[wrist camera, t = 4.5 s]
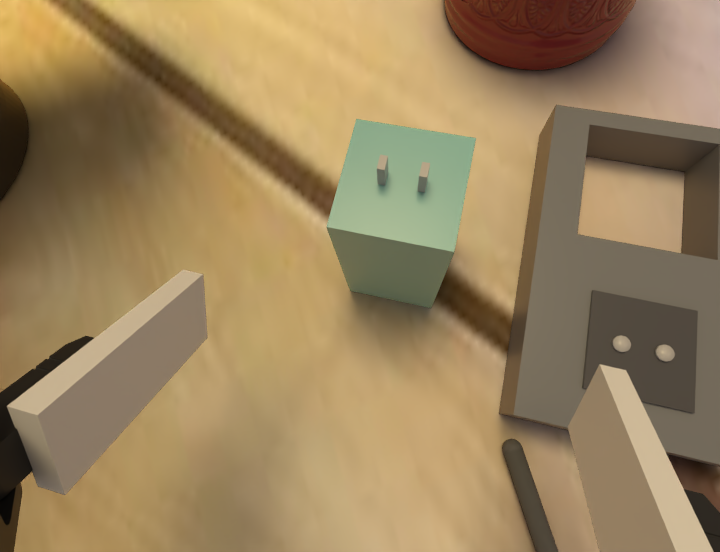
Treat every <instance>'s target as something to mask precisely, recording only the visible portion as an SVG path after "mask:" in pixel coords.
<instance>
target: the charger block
mask: <svg viewBox="0 0 720 552" xmlns="http://www.w3.org/2000/svg"><path fill="white" fill-rule="evenodd" d="M475 141H476V138H472V137H465V136H459V135H453V134H447V133H441V132H434V131H428V130H422V129H416V128H409V127H403V126H397V125H391V124H385V123H378V122H372V121H366V120H360V119H356V123H355V126H354V130H353V133H352V137H351V141H350V144H349V148H348V151H347V155H346V159H345V162H344V166H343V169H342V173H341V177H340V180H339V184H338V187H337V191H336V195H335V198H334V202H333V205H332V209H331V213H330V216H329V220H328V223H327V230H328V232H329V235H330V238H331V240H332V243H333V246H334V248H335V251H336V254H337V257H338V259H339V262H340V265H341V267H342V270H343V273H344V275H345V278H346V281H347V284H348V286H349V289H350V291H353V292H358V293H363V294H367V295H372V296H377V297H381V298H386V299H391V300H395V301H400V302H404V303H409V304H414V305H418V306H423V307H428V308H432V305H433V303H434V300H435V298H436V295H437V293H438V291H439V288H440V286H441V283H442V281H443V278H444V276H445V274H446V271H447V269H448V266H449V264H450V261H451V259H452V256H453V254H454V251H455V246H456V241H457V235H458V230H459V225H460V220H461V214H462V209H463V204H464V199H465V193H466V188H467V183H468V178H469V172H470V167H471V162H472V156H473V151H474V146H475Z"/></svg>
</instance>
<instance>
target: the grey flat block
mask: <svg viewBox="0 0 720 552" xmlns="http://www.w3.org/2000/svg"><path fill="white" fill-rule="evenodd" d="M586 156H591V157H597V158H603V159H609V160H616V161H622V162H628V163H634V164H641V165H647V166H653V167H659V168H665V169H672V170H678V171H684V172H685V186H684V210H683V234H682V254H681V253H676V252H671V251H665V250H660V249H654V248H649V247H643V246H638V245H632V244H627V243H622V242H616V241H611V240H605V239H600V238H594V237H589V236H584V235H578V234H577V233H578V224H579V215H580V206H581V197H582V188H583V179H584V170H585V161H586ZM599 364H601V365H605V366H610V367H614V368H618V369H623V370H626V371H627V373H628V375H629V377H630V379H631V381H632V384H633V386H634V388H635V390H636V392H637V394H638V396H639V398H640V400H641V402H642V404H643V406H644V408H645V411H646V413H647V415H648V417H649V419H650V421H651V423H652V425H653V427H654V429H655V431H656V433H657V435H658V437H659V440H660V442H661V444H662V446H663V448H664V450H665V452H666V454H668V455H672V456H677V457H681V458H685V459H689V460H693V461H697V462H701V463H705V464H710V465H714V466H719V467H720V129H717V128H711V127H704V126H697V125H690V124H683V123H676V122H670V121H663V120H656V119H649V118H642V117H636V116H629V115H622V114H615V113H608V112H601V111H595V110H588V109H581V108H574V107H567V106H560V105H556V106H555V108H554V110H553V111H552V113H551V115H550V117H549V119H548V121H547V122H546V124H545V126H544V128H543V130H542V132H541V133H540V136H539V143H538V149H537V156H536V163H535V170H534V177H533V184H532V191H531V197H530V204H529V211H528V218H527V225H526V232H525V239H524V246H523V252H522V259H521V266H520V273H519V280H518V287H517V294H516V300H515V307H514V314H513V321H512V328H511V335H510V342H509V349H508V355H507V362H506V369H505V376H504V383H503V390H502V397H501V403H500V410H499V414H503V415H508V416H512V417H516V418H520V419H524V420H528V421H532V422H536V423H541V424H545V425H549V426H553V427H557V428H561V429H565V430H568V425H569V423H570V421H571V420H572V418H573V416H574V414H575V412H576V410H577V408H578V406H579V404H580V402H581V400H582V398H583V396H584V394H585V392H586V390H587V388H588V386H589V384H590V382H591V380H592V378H593V376H594V374H595V372H596V370H597V368H598V366H599Z"/></svg>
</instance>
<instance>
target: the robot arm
mask: <svg viewBox="0 0 720 552" xmlns="http://www.w3.org/2000/svg"><path fill="white" fill-rule="evenodd" d="M27 139H28V123H27V117H26V113H25V110H24V107H23V105H22V103H21V101H20V99H19V98H18V96H17V95H16V93H15V92H14V91H13V90H12V89H11V88H10V87H9V86H8V85H7V84H5V83H4V82H3V81H2V80H1V79H0V199H1V198H2V197H3V195H4V194H5V193H6V191H7V190H8V188H9V187H10V185H11V184H12V182H13V180H14V179H15V177H16V175H17V173H18V171H19V169H20V166H21V164H22V161H23V158H24V155H25V151H26V146H27ZM206 339H207V324H206V309H205V294H204V279H203V274H200V273H196V272H192V271H187V270H182V271H180V272H179V273H178V274H177V275H175V276H174V277H173V278H171V279H170V280H169V281H167V282H166V283H165V284H164V285H162V286H161V287H160V288H158V289H157V290H156V291H155V292H153V293H152V294H151V295H149V296H148V297H147V298H146V299H144V300H143V301H142V302H140V303H139V304H138V305H137V306H135V307H134V308H133V309H131V310H130V311H129V312H128V313H126V314H125V315H124V316H122V317H121V318H120V319H118V320H117V321H116V322H115V323H113V324H112V325H111V326H109V327H108V328H107V329H106V330H104V331H103V332H102V333H100V334H99V335H98V336H97V337H95V338H92V337H89V336H85V337H82V338H80V339H78V340H75V341H73V342H71V343H68V344H66V345H65V346H63V347H62V348H61V349H59V350H58V351H56V352H55V353H54V354H52V355H51V356H50V357H49V359H46V360H44V361H43V362H42V363H40V364H39V365H37V366H36V369H32V370H31V371H29V372H28V373H27V374H25V375H24V376H22V377H21V378H20V379H18V380H17V381H16V382H14V383H13V384H12V385H10V386H9V387H8V388H6V389H5V390H3V391H2V392H1V393H0V552H14V546H15V539H16V532H17V525H18V518H19V511H20V504H21V498H22V487H21V483H20V482H21V481H22V480H23V479H24V478H25V477H26V476H27V475H28V474H29V473H30V472H31V471H32V472H33V475H34V477H35V480H36V483H37V485H38V487H41V488H45V489H48V490H51V491H54V492H57V493H60V494H63V495H66V494H67V492H68V491H69V490H70V489H71V488H72V487H73V486H74V485H75V484H76V483H77V481H78V480H79V479H80V478H81V477H82V476H83V475H84V474H85V473H86V471H87V470H88V469H89V468H90V467H91V466H92V465H93V464H94V463H95V461H96V460H97V459H98V458H99V457H100V456H101V455H102V454H103V453H104V452H105V450H106V449H107V448H108V447H109V446H110V445H111V444H112V443H113V442H114V440H115V439H116V438H117V437H118V436H119V435H120V434H121V433H122V432H123V430H124V429H125V428H126V427H127V426H128V425H129V424H130V423H131V422H132V421H133V419H134V418H135V417H136V416H137V415H138V414H139V413H140V412H141V411H142V409H143V408H144V407H145V406H146V405H147V404H148V403H149V402H150V401H151V399H152V398H153V397H154V396H155V395H156V394H157V393H158V392H159V391H160V390H161V388H162V387H163V386H164V385H165V384H166V383H167V382H168V381H169V380H170V378H171V377H172V376H173V375H174V374H175V373H176V372H177V371H178V370H179V369H180V367H181V366H182V365H183V364H184V363H185V362H186V361H187V360H188V359H189V357H190V356H191V355H192V354H193V353H194V352H195V351H196V350H197V349H198V347H199V346H200V345H201V344H202V343H203V342H204V341H205V340H206ZM568 430H569V434H570V438H571V442H572V446H573V450H574V454H575V458H576V462H577V466H578V470H579V473H580V477H581V481H582V485H583V489H584V493H585V497H586V501H587V505H588V509H589V512H590V516H591V520H592V524H593V528H594V532H595V536H596V540H597V544H598V548H599V551H600V552H720V513H719V511H718V510H717V509H716V508H715V507H714V506H713V505H712V504H711V502H710V501H709V500H708V499H707V498H706V497H705V496H704V495H703V494H700V493H697V492H693V491H689V490H685V489H683V487H682V485H681V483H680V481H679V479H678V477H677V475H676V473H675V471H674V469H673V467H672V464H671V462H670V460H669V458H668V456H667V454H666V452H665V450H664V448H663V446H662V444H661V442H660V440H659V437H658V435H657V433H656V431H655V429H654V427H653V425H652V423H651V421H650V419H649V417H648V415H647V413H646V411H645V408H644V406H643V404H642V402H641V400H640V398H639V396H638V394H637V392H636V390H635V388H634V386H633V384H632V381H631V379H630V377H629V375H628V373H627V371H626V370H623V369H618V368H614V367H610V366H605V365H601V364H599V366H598V368H597V370H596V372H595V374H594V376H593V378H592V380H591V382H590V384H589V386H588V388H587V390H586V392H585V394H584V396H583V398H582V400H581V402H580V404H579V406H578V408H577V410H576V412H575V414H574V416H573V418H572V420H571V421H570V423H569V425H568Z"/></svg>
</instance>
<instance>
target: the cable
mask: <svg viewBox="0 0 720 552" xmlns="http://www.w3.org/2000/svg"><path fill="white" fill-rule="evenodd" d="M502 448H503V453H504V456H505V459H506V462H507V465H508V468H509V471H510V474H511V477H512V480H513V483H514V486H515V489H516V492H517V495H518V498H519V501H520V504H521V507H522V510H523V513H524V516H525V519H526V522H527V525H528V528H529V531H530V534H531V537H532V540H533V543H534V546H535V549H536V552H558V549H557V547H556V544H555V541H554V538H553V535H552V532H551V529H550V526H549V524H548V521H547V518H546V515H545V512H544V509H543V506H542V503H541V500H540V498H539V495H538V492H537V489H536V486H535V483H534V480H533V477H532V474H531V472H530V469H529V466H528V463H527V460H526V457H525V454H524V451H523V448H522V446H521V444H520V443H519V442H518V441H517V440H514V439H508V440H506V441H505V442H504V444H503V447H502Z"/></svg>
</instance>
